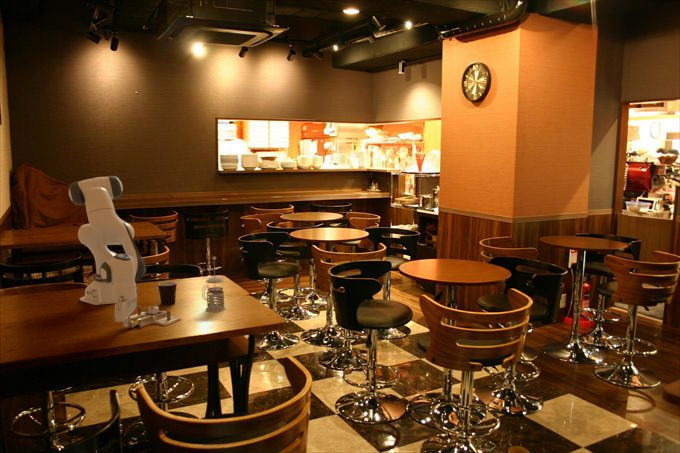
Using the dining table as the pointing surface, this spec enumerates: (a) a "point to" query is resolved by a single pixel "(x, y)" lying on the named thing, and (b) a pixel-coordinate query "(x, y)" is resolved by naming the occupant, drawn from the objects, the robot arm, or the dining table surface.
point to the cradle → (154, 318)
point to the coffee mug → (167, 293)
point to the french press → (214, 295)
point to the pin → (134, 323)
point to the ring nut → (153, 310)
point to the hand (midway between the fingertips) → (126, 326)
